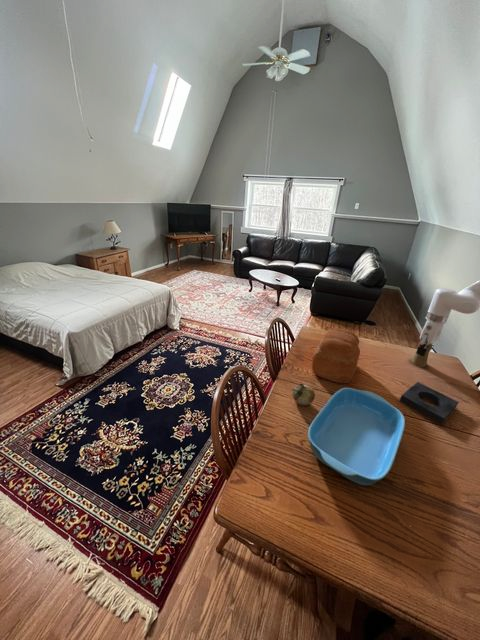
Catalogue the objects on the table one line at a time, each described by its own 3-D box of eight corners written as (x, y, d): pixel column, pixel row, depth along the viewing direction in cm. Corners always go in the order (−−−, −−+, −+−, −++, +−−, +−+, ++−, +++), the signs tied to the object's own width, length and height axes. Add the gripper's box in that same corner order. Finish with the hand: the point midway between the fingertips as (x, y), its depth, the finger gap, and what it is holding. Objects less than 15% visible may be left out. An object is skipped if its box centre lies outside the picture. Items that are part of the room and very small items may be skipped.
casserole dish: (374, 514, 64) (382, 496, 61) (292, 459, 77) (296, 441, 74) (404, 424, 91) (411, 408, 87) (340, 394, 103) (344, 379, 100)
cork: (424, 368, 122) (433, 347, 117) (409, 362, 125) (417, 342, 121) (427, 363, 126) (435, 342, 121) (412, 357, 129) (420, 338, 125)
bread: (307, 374, 114) (313, 340, 106) (320, 351, 131) (326, 320, 124) (350, 389, 106) (360, 353, 99) (357, 363, 123) (366, 330, 116)
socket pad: (455, 408, 99) (458, 402, 98) (441, 425, 91) (444, 418, 90) (415, 387, 109) (417, 381, 108) (399, 401, 101) (401, 395, 100)
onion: (307, 412, 94) (310, 394, 90) (287, 401, 98) (290, 384, 95) (316, 401, 99) (320, 384, 96) (297, 391, 104) (300, 374, 100)
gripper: (439, 325, 108) (423, 362, 116) (453, 315, 117) (438, 350, 125) (419, 318, 113) (405, 354, 121) (434, 309, 123) (421, 344, 131)
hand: (422, 352), depth 123 cm, fingers closed on cork, 5 cm apart
